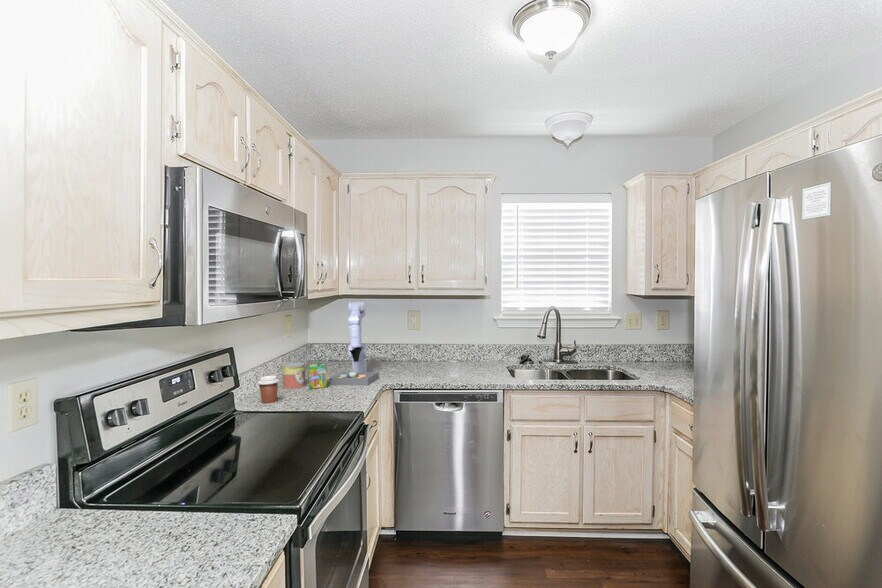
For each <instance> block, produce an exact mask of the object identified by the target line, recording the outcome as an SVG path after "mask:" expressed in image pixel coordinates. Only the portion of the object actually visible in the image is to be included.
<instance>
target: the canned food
mask: <svg viewBox="0 0 882 588" xmlns="http://www.w3.org/2000/svg"><path fill="white" fill-rule="evenodd" d="M305 365H306V364H305V362H301V361H300V362H289V363H284V364H282V365H281V366H282V380H283V382H282V383H283V385H282V386H283V389H284V388H285V389H284V390H298V389H297V388H299V389H303V388H305V387H306V386H307V385H306V368H305ZM304 386H305V387H304ZM302 387H303V388H302Z"/></svg>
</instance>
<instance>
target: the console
mask: <svg viewBox="0 0 882 588" xmlns="http://www.w3.org/2000/svg"><path fill="white" fill-rule="evenodd" d="M349 372H350V371H341V372H340V373H338V374H335V375H333V376H330V377H329V379H328V384H329V385H331V386H332V385H334V386H335V385H337V386H338V385H339V386H340V385H341V386H342V385H343V386H369V385H370V384H373V383H374V382H376V381H377V380H379V378H380V373H379V372H376V371H367V372H357V376H356V377H349ZM340 374H347V377H340ZM360 374H366V377H359V375H360ZM329 385H328V386H329Z"/></svg>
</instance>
